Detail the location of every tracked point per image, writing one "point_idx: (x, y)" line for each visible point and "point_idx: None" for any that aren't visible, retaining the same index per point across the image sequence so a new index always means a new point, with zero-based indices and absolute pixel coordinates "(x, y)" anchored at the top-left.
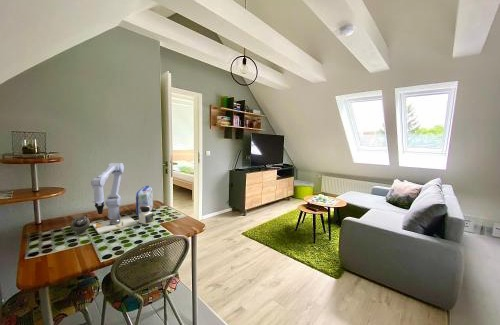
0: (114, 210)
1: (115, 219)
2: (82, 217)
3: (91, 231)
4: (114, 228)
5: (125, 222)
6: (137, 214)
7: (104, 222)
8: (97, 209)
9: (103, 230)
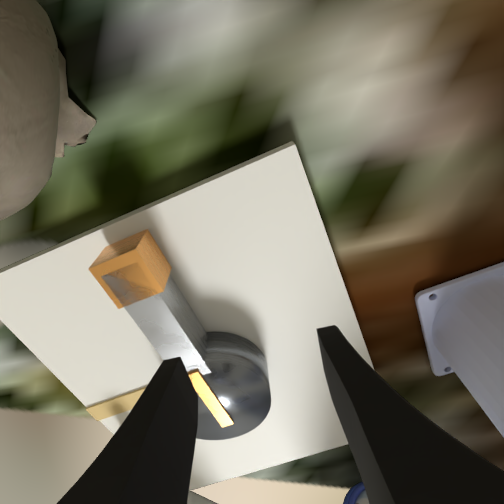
0: (490, 408)
1: (214, 411)
2: None
3: (64, 187)
4: (69, 388)
5: None
6: (344, 500)
7: (147, 333)
8: (87, 478)
9: (21, 318)
